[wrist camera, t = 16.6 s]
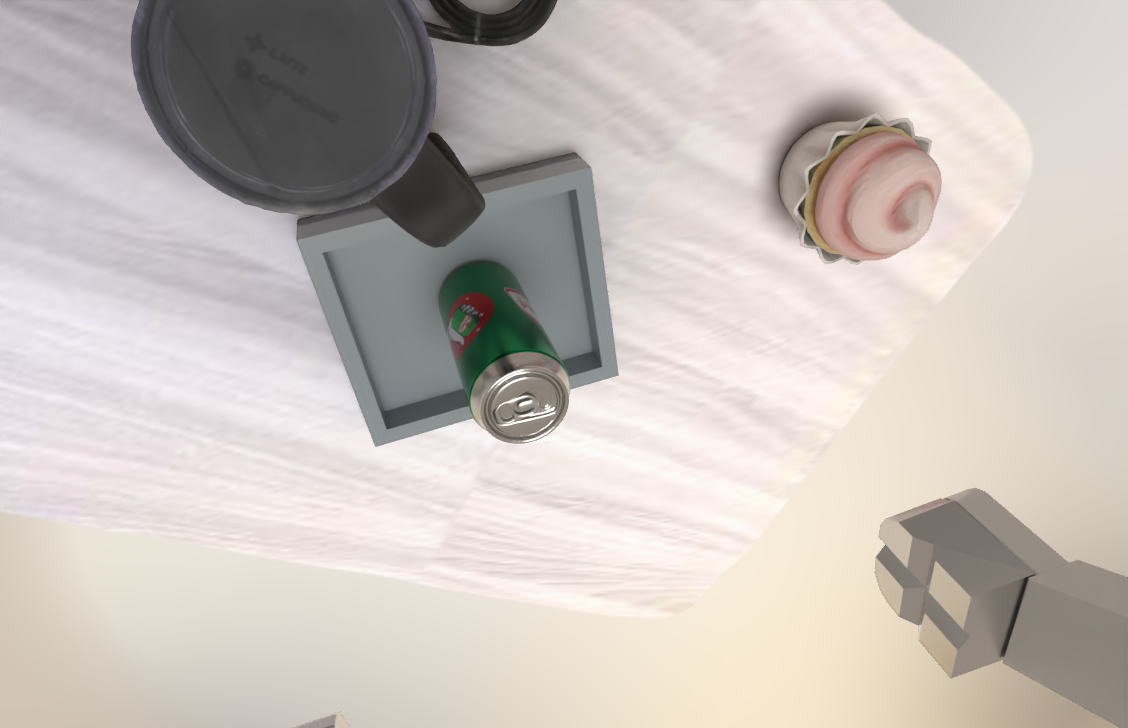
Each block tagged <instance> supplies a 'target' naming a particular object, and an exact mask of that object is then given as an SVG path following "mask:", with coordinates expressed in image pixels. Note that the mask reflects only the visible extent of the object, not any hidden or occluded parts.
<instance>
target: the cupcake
mask: <svg viewBox="0 0 1128 728" xmlns="http://www.w3.org/2000/svg"><path fill="white" fill-rule="evenodd" d="M931 143H932V141H931V140H930V139H928V138H924V137H918V136H915V134H914V128H913V123H912V122H911V121H910V120H909V119H908V118H901V119H896V120H892V121H888V122H887V121H886V120H885V119H883V118H882V117H881V116H880V115H879V114H876V113H873V114H871V115H869V116H867V117H865V118H862V119H860V120H858V121H856V122H848V121H839V122H829V123H825V124H822V125H819V126H817V127H815V128H813V129H811V130H810V131H808V132H807V133H806V134H804V135H803V136H802V137H801V138H800V139H799V140H798V141H797V142H796V143H795V144H794V145H793V146H792V148H791V149H790V151H789V152H788V154H787V156H786V158H785V160H784V162H783V165H782V167H781V171H780V179H779V188H780V196H781V199H782V201H783V203H784V206H785V207H786V208H787V210H788V211H789V213H790V214H791V216H792V217H793V219H794V221H795V222H796V224H797V227H798V233H799V239H800V244H801V246H802V247H804V248H812V249H816V250H817V252H818V254H819V256H820V258H821V260H822V261H823V262H824V264H831V263H834V262H836V261H838V260H840V259H843V258H844V259H845V260H847V261H848V262H850V263H851V264H855V265H858V264H860V263H861V262H863V261H864V260H880V259H886V258H889V257H891V256H893V255H895V254H897V253H898V252H900V251H903V250H905V249H907V248H909V247H910V246H912V245H914V244H915V243H917V242H918V241H919V240H920V239H921V238H922V237H923V236H924V235H925V234H926V232H927V231H928V230H929V228H930V225H931V222H932V219H933V213H934V209H935V207H936V204H937V201H938V198H939V195H940V191H941V173H940V170H939V168H938V166H937V164H936V163H935V161H934V160H933V159H932V158H931V157H930V156H929V152H930V149H931Z"/></svg>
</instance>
